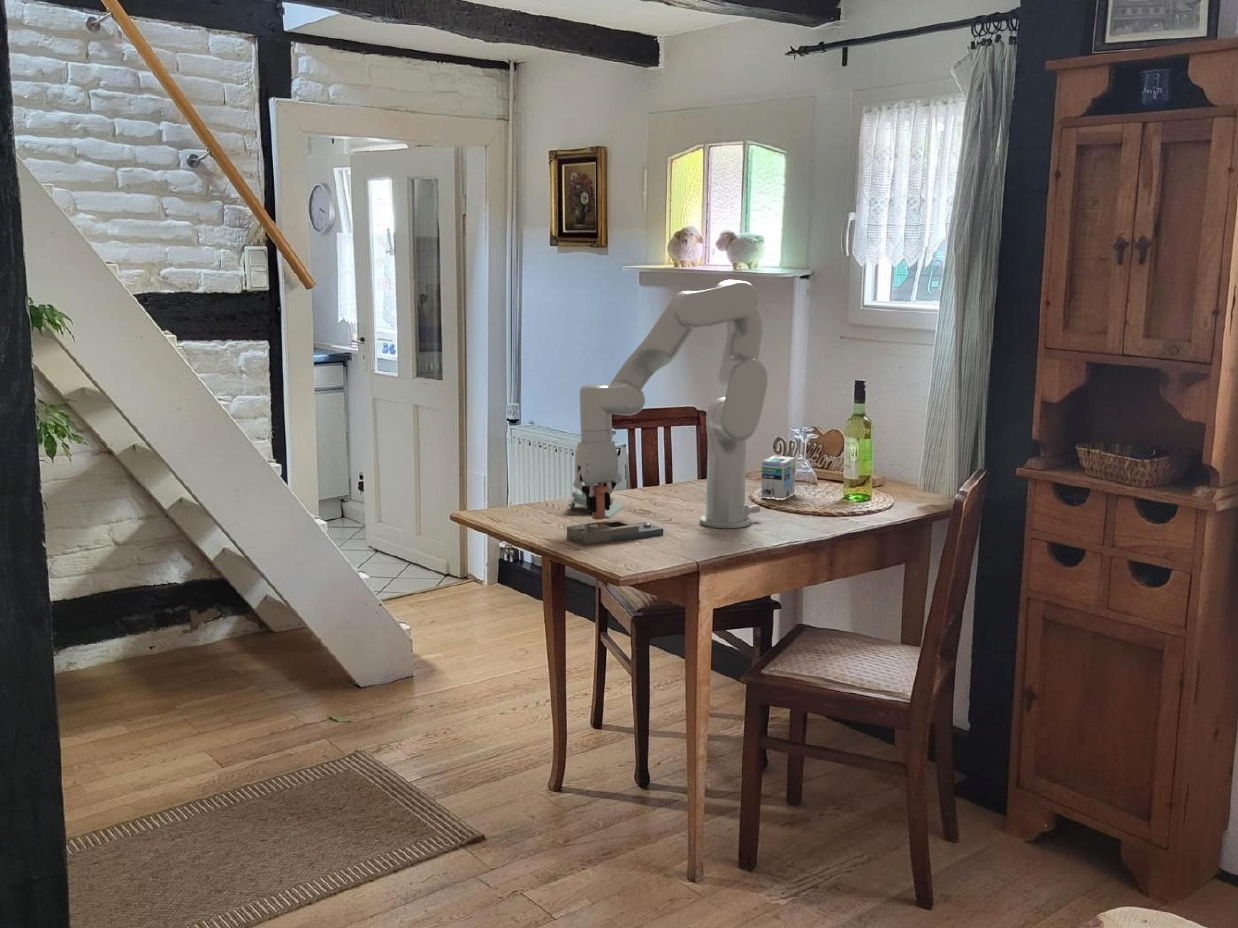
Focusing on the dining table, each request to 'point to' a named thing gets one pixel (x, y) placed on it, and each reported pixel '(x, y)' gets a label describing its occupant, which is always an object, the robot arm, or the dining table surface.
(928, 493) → the dining table surface
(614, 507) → the metal bracket
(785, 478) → the light bulb box
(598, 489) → the orange t-shaped block
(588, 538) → the studded slotted plate
